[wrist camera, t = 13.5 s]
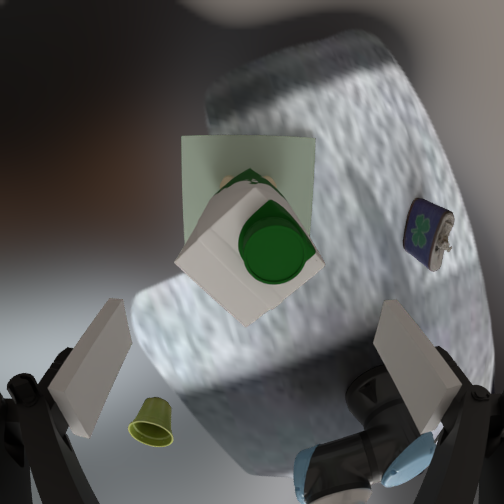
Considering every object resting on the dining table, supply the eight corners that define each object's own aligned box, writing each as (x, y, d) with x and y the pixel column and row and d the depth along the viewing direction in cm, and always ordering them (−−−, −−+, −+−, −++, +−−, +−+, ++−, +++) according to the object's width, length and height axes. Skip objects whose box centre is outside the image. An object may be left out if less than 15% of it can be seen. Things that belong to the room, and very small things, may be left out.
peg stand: (313, 138, 40) (322, 138, 35) (305, 258, 47) (312, 273, 41) (183, 136, 40) (174, 135, 34) (187, 257, 46) (180, 272, 41)
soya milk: (297, 209, 38) (345, 278, 20) (244, 254, 40) (244, 354, 22) (250, 157, 36) (256, 177, 17) (196, 206, 38) (152, 275, 19)
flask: (412, 251, 47) (445, 278, 37) (398, 249, 47) (430, 276, 37) (425, 198, 43) (464, 215, 33) (411, 195, 43) (449, 212, 33)
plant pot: (142, 385, 56) (132, 415, 48) (184, 401, 58) (178, 432, 50) (133, 407, 59) (124, 436, 51) (172, 422, 61) (166, 451, 53)
